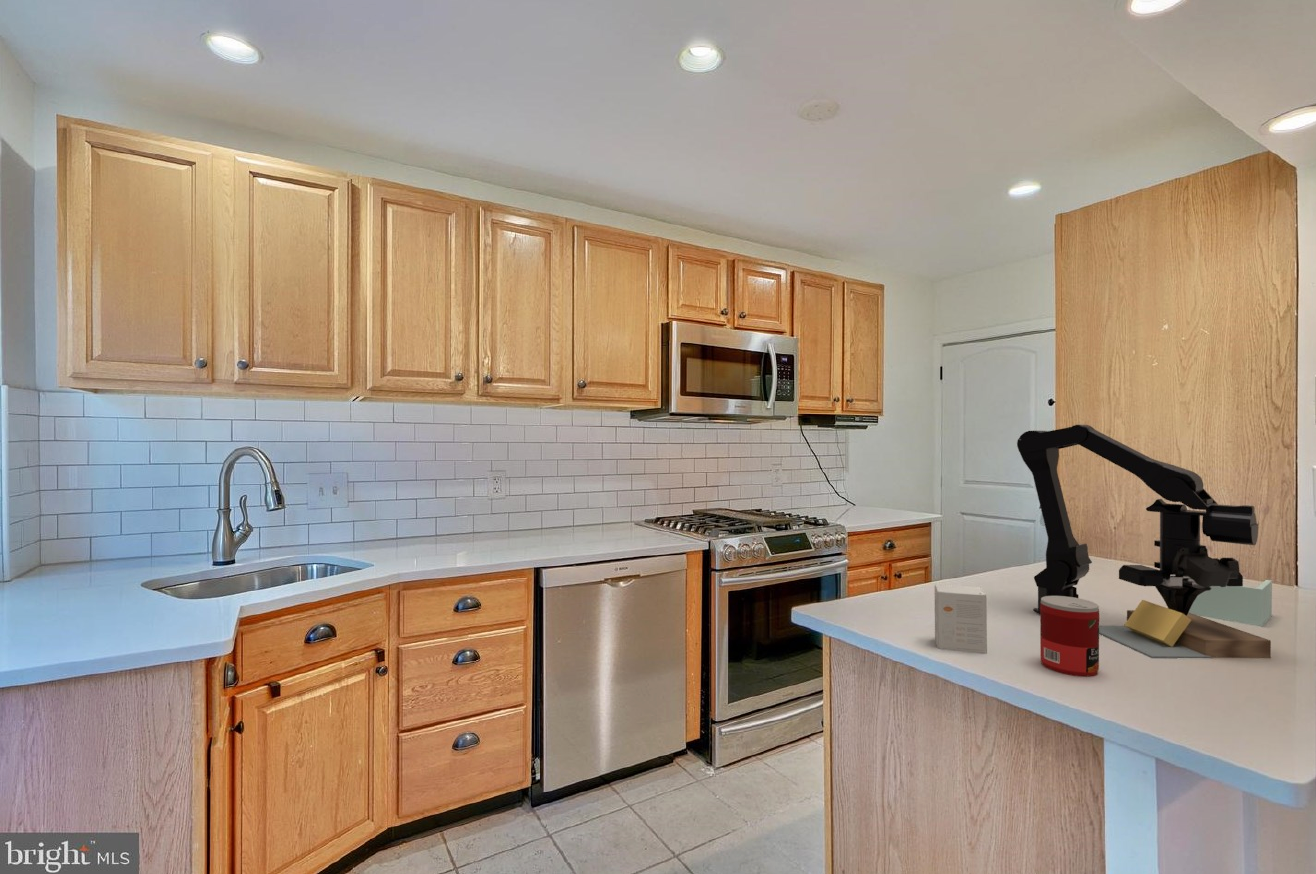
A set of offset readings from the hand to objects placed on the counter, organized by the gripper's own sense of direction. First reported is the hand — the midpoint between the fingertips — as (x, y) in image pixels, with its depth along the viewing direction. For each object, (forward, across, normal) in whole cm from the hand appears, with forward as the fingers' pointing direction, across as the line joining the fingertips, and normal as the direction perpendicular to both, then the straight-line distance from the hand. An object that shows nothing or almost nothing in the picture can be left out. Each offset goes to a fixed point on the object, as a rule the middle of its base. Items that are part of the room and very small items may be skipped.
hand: (1179, 621), depth 115 cm
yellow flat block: (+1, -4, 0) cm, 4 cm away
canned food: (+4, -30, -14) cm, 33 cm away
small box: (+4, -42, -4) cm, 43 cm away
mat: (+3, -8, -1) cm, 8 cm away
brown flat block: (+4, +2, 0) cm, 4 cm away
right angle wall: (+4, +24, +17) cm, 30 cm away
